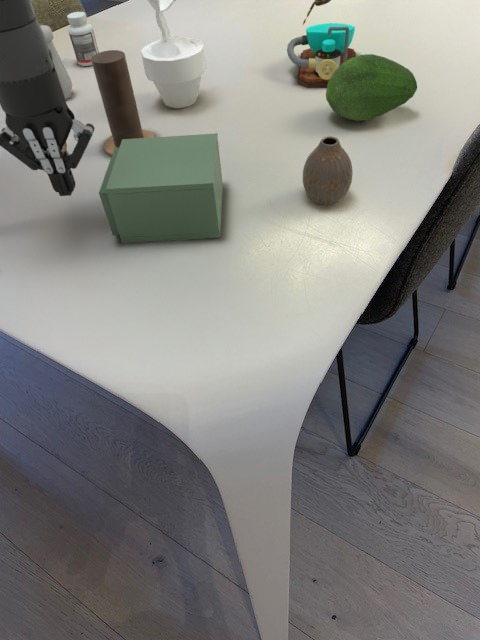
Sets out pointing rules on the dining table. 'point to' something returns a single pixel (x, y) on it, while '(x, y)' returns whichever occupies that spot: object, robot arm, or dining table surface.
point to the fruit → (369, 87)
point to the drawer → (105, 198)
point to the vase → (327, 172)
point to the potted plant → (174, 62)
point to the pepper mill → (117, 95)
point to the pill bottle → (82, 38)
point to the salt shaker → (58, 63)
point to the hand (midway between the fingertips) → (67, 192)
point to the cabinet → (167, 188)
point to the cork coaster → (110, 147)
